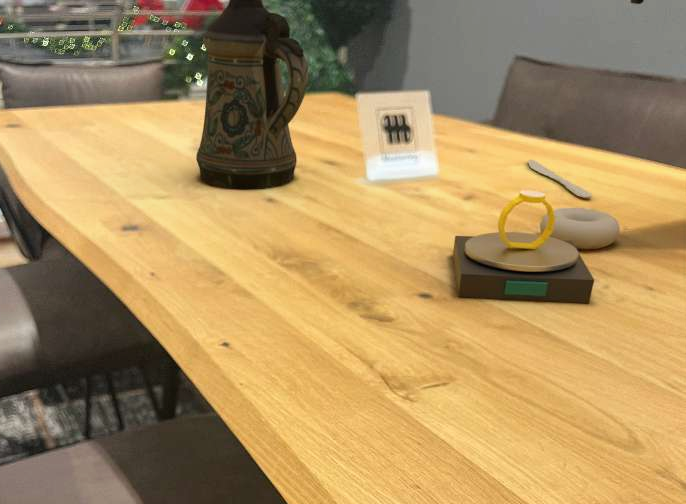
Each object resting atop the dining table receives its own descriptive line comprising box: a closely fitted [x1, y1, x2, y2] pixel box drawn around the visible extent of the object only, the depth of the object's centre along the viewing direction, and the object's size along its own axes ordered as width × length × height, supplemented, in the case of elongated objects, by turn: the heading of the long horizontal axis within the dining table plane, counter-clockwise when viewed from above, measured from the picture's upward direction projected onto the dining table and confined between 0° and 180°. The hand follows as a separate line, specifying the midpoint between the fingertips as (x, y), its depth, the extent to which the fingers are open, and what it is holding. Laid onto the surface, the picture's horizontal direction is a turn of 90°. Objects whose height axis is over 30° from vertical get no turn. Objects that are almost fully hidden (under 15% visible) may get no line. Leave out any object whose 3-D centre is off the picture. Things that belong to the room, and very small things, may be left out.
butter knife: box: [527, 159, 593, 199], centre depth 129 cm, size 1×27×3 cm
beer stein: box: [195, 0, 309, 190], centre depth 120 cm, size 16×19×25 cm
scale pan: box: [465, 231, 580, 272], centre depth 87 cm, size 13×13×1 cm
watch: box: [497, 189, 555, 250], centre depth 85 cm, size 6×3×6 cm, turn 94°
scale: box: [452, 235, 595, 304], centre depth 87 cm, size 14×14×3 cm
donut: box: [539, 207, 621, 250], centre depth 100 cm, size 10×4×10 cm
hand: (679, 4), depth 87 cm, fingers open, 9 cm apart
